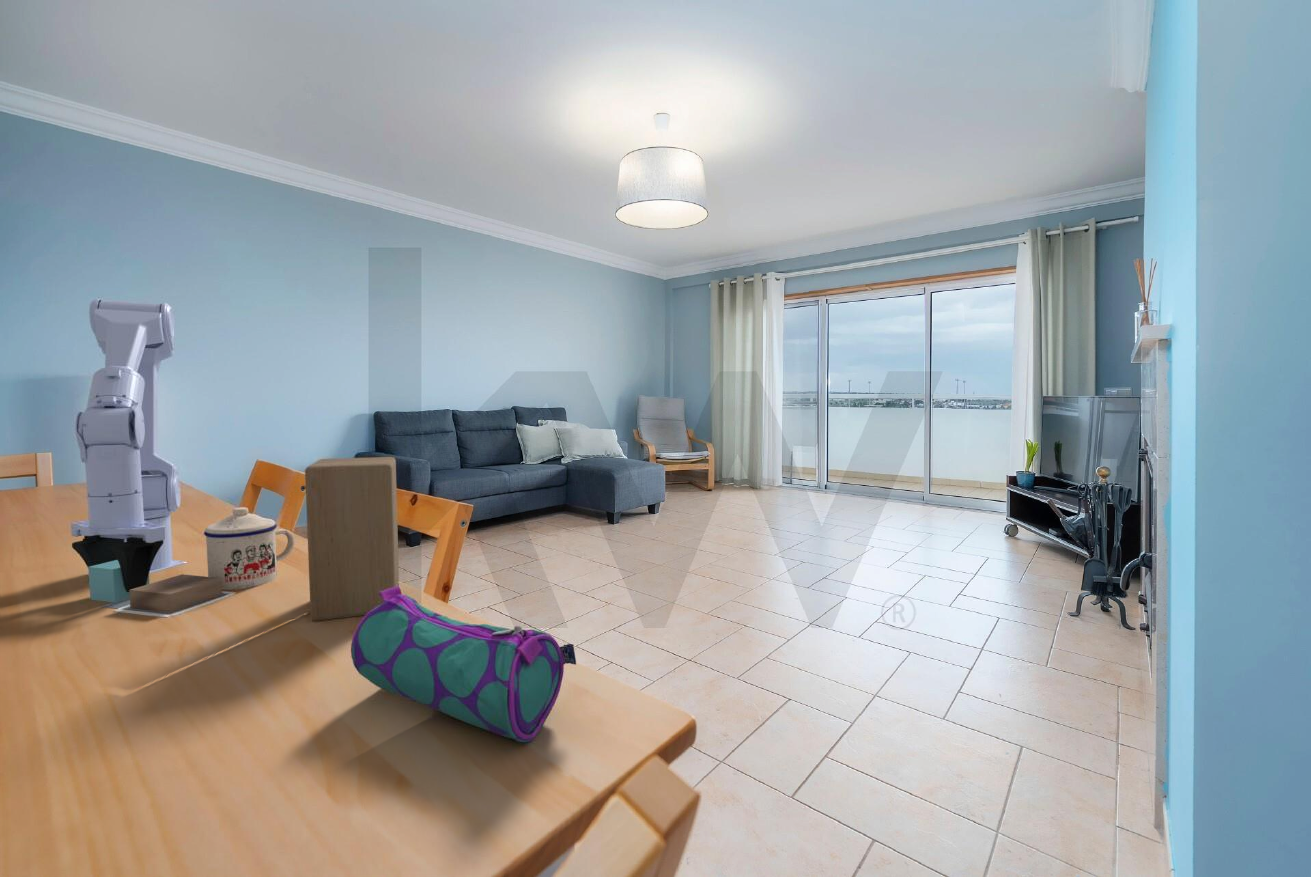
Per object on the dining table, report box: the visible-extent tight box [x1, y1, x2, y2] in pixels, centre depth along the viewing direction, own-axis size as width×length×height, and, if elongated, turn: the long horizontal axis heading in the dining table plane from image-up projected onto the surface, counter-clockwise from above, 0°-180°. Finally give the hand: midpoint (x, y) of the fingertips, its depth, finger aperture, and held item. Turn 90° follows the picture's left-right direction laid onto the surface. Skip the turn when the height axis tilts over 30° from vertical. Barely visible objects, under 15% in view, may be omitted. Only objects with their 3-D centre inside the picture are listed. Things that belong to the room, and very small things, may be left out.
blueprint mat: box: [100, 590, 237, 619], centre depth 82 cm, size 13×10×1 cm
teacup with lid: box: [203, 506, 295, 591], centre depth 92 cm, size 12×9×12 cm
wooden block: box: [304, 456, 400, 621], centre depth 81 cm, size 10×10×20 cm
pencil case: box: [350, 585, 577, 743], centre depth 55 cm, size 21×9×10 cm, turn 62°
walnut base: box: [129, 573, 223, 613], centre depth 82 cm, size 7×7×2 cm
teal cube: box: [87, 560, 150, 603], centre depth 84 cm, size 4×4×5 cm
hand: (121, 588), depth 84 cm, fingers open, 5 cm apart
